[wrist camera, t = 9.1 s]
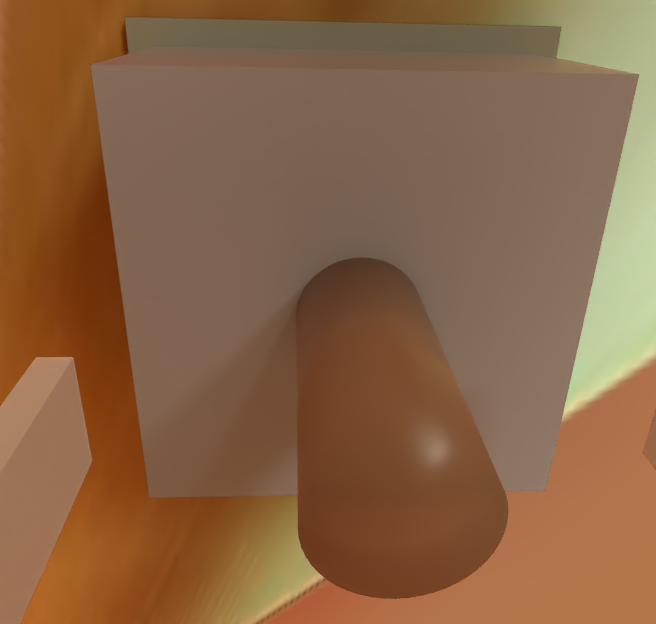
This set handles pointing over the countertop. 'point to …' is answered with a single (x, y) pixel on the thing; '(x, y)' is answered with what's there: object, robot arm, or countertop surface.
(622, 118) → the cover
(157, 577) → the countertop surface
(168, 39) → the mat
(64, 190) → the countertop surface
